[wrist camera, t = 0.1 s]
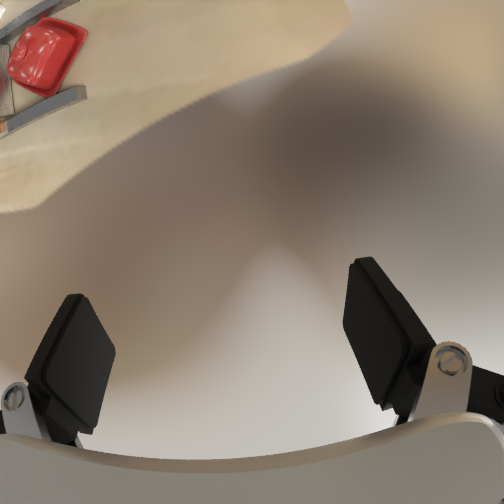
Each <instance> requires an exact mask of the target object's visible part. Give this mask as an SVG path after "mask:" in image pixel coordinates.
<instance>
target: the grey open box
mask: <svg viewBox="0 0 504 504" xmlns="http://www.w3.org/2000/svg"><path fill="white" fill-rule="evenodd" d="M79 1H80V0H45V1H43V2H41V3H39V4H38V5H36V6H34V7H33V8H31V9H30V10H28V11H26V12H25V13H23V14H22V15H20V16H19V17H17V18H16V19H14V20H13V21H12V22H10V23H9V24H7V25H6V26H5V27H3V28H2V29H1V30H0V45H5V44H6V43H7V42H9V41H10V40H12V39H13V38H15V37H16V36H18V35H19V34H21V33H22V32H24V31H25V30H26V28H28V27H29V26H32V25H35V24H37V23H38V22H39V20H40V19H41V18H43V17H49V16H51V15H53V14H55V13H56V12H58V11H60V10H62V9H64V8H66V7H68V6H70V5H72V4H75V3H77V2H79ZM86 99H87V95H86V88H85V86H75V87H73V88H70V89H68V90H66V91H63V92H61V93H59V94H57V95H54V96H52V97H50V98H48V99H46V100H44V101H42V102H40V103H38V104H36V105H34V106H32V107H30V108H28V109H26V110H25V111H23V112H21V113H19V114H17V115H16V116H14V117H12V118H11V119H9V120H7V121H5V122H3V123H2V124H1V128H2V133H0V140H1V139H3V138H5V137H6V136H8V135H10V134H12V133H13V132H15V131H17V130H19V129H21V128H23V127H25V126H27V125H29V124H30V123H32V122H35V121H37V120H39V119H41V118H43V117H45V116H47V115H49V114H52V113H54V112H56V111H58V110H61V109H63V108H65V107H68V106H70V105H73V104H75V103H78V102H80V101H83V100H86Z"/></svg>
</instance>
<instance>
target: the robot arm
mask: <svg viewBox="0 0 504 504" xmlns="http://www.w3.org/2000/svg"><path fill="white" fill-rule="evenodd" d="M343 328H344V331H345V333H346V336H347V338H348V340H349V343H350V345H351V347H352V349H353V352H354V354H355V357H356V359H357V361H358V364H359V366H360V368H361V371H362V373H363V376H364V378H365V381H366V383H367V385H368V388H369V390H370V393H371V395H372V398H373V400H374V403H375V404H380V406H381V409H382V411H384V410H387V409H390V408H393V409H394V411H395V413H396V414H397V416H396V419H395V421H394V424H393V427H391V428H388V429H384V430H381V431H378V432H375V433H371V434H368V435H364V436H361V437H358V438H354V439H350V440H346V441H342V442H337V443H333V444H329V445H324V446H320V447H315V448H310V449H305V450H300V451H293V452H287V453H281V454H273V455H265V456H258V457H257V456H256V457H246V458H234V459H233V458H232V459H212V460H178V459H157V458H144V457H134V456H124V455H117V454H110V453H104V452H98V451H92V450H87V449H84V448H83V446H82V444H81V442H80V440H79V438H78V436H77V433H78V431H79V432H80V433H84V434H91V435H92V433H93V429H94V428H95V427H96V426H97V423H98V418H99V414H100V410H101V406H102V402H103V398H104V394H105V390H106V386H107V383H108V379H109V375H110V372H111V368H112V365H113V361H114V357H115V353H116V352H115V347H114V345H113V343H112V342H111V340H110V338H109V337H108V335H107V333H106V331H105V330H104V328H103V326H102V324H101V322H100V321H99V319H98V317H97V315H96V313H95V311H94V309H93V308H92V306H91V304H90V302H89V300H88V298H86V297H84V295H83V294H70V295H67V297H66V298H65V300H64V302H63V303H62V305H61V307H60V308H59V310H58V312H57V313H56V315H55V317H54V319H53V321H52V323H51V324H50V326H49V328H48V330H47V332H46V334H45V335H44V337H43V339H42V342H41V343H40V345H39V347H38V349H37V351H36V353H35V355H34V357H33V359H32V362H31V364H30V366H29V368H28V370H27V373H26V375H25V377H24V378H25V379H26V381H27V382H28V383H29V384H28V387H27V386H26V385H25V384H24V383H22V382H15V383H13V384H11V385H10V386H9V387H8V388H7V389H6V390H5V391H4V393H3V395H2V399H1V408H2V410H1V411H0V504H504V376H503V375H500V374H497V373H494V372H491V371H488V370H485V369H482V368H479V367H476V366H473V365H472V358H471V356H470V353H469V352H468V351H467V350H466V348H464V347H463V346H461V345H460V344H458V343H455V342H449V341H448V342H442V343H440V344H438V345H436V343H435V341H434V340H433V338H432V337H431V335H430V334H429V332H428V331H427V329H426V328H425V326H424V325H423V323H422V322H421V320H420V319H419V318H418V316H417V314H416V313H415V312H414V310H413V309H412V307H411V306H410V305H409V303H408V302H407V300H406V299H405V298H404V296H403V295H402V293H401V292H400V291H398V290H397V289H396V287H395V286H394V285H393V283H392V282H391V281H390V279H389V278H388V277H387V275H386V274H385V273H384V272H383V270H382V269H381V267H380V266H379V265H378V264H377V262H376V261H375V260H374V258H372V257H364V258H357V259H355V261H354V263H353V264H350V267H349V277H348V285H347V294H346V301H345V309H344V316H343Z"/></svg>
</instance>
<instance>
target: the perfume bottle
mask: <svg viewBox="0 0 504 504" xmlns="http://www.w3.org/2000/svg"><path fill="white" fill-rule="evenodd" d="M4 11H5V8H4V7H3V6H2V5H0V19H1V17H2V15H3V13H4Z"/></svg>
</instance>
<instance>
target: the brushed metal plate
mask: <svg viewBox="0 0 504 504" xmlns="http://www.w3.org/2000/svg"><path fill="white" fill-rule="evenodd" d="M8 60H9V45H0V119H2V118H6V117H9V116H11V115H12V114H14V109H13V101H12V92H11V81H10V76H9V75H8V74H7V63H8ZM0 133H2V128H1V122H0Z"/></svg>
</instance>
